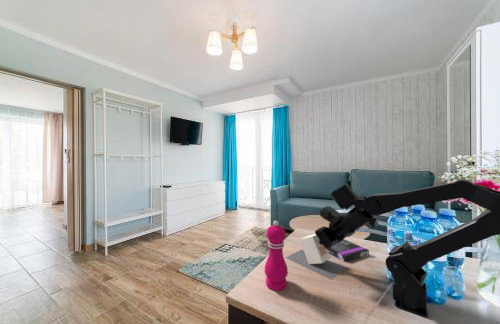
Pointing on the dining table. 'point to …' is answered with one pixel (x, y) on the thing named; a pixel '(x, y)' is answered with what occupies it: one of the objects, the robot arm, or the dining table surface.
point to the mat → (317, 265)
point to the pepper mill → (276, 258)
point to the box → (347, 251)
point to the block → (314, 250)
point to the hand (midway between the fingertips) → (320, 243)
